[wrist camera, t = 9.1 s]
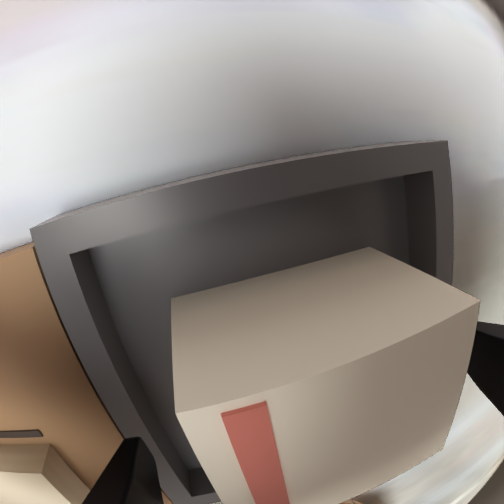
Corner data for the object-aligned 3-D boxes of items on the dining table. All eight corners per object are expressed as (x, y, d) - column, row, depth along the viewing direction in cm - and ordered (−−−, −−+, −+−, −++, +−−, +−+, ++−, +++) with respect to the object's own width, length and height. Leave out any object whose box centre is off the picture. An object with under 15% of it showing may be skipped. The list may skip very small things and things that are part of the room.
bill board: (212, 534, 13) (223, 580, 10) (47, 538, 11) (44, 576, 8) (48, 237, 8) (-11, 277, 5) (-128, 307, 6) (-168, 339, 3)
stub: (371, 373, 11) (444, 450, 7) (214, 425, 10) (242, 537, 6) (369, 246, 10) (483, 301, 5) (170, 298, 9) (176, 418, 4)
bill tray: (407, 393, 13) (431, 416, 11) (174, 472, 11) (178, 509, 9) (406, 141, 10) (447, 140, 8) (58, 214, 8) (29, 229, 6)
